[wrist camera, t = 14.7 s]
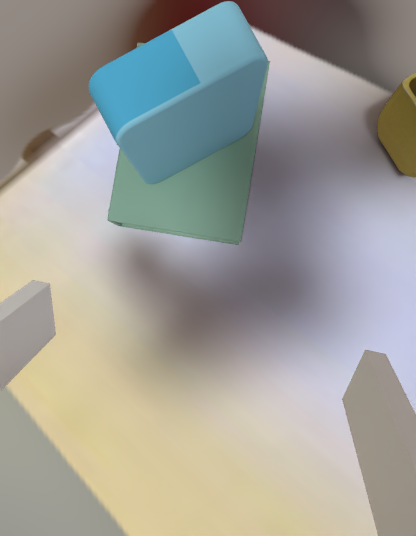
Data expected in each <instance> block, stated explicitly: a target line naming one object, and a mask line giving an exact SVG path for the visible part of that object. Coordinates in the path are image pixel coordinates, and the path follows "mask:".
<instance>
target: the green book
mask: <svg viewBox="0 0 416 536" xmlns="http://www.w3.org/2000/svg"><path fill="white" fill-rule="evenodd" d="M142 45H143V43H138V44H137V48H138V47H140V46H142ZM269 63H270V61H268V65H267V69H266V73H265V77H264V81H263V85H262V89H261V93H260V97H259V101H258V105H257V110H256V114H255V118H254V122H253V126H252V128H251V130H250V131H249V132H248V133H247V134H246V135H245V136H243V137H242V138H241V139H239V140H237V141H235V142H234V143H232V144H230V145H228V146H226V147H224V148H222V149H221V150H219V151H217V152H215V153H213V154H211V155H209V156H207V157H206V158H204V159H202V160H200V161H198V162H196V163H194V164H193V165H191V166H189V167H187V168H185V169H183V170H181V171H179V172H178V173H176V174H174V175H172V176H170V177H168V178H166V179H165V180H163V181H161V182H158V183H155V184H148V183H146V182H145V181H144V180H143V179H142V177H141V176H140V175H139V173H138V172H137V170H136V169H135V168H134V166H133V165H132V164H131V162H130V161H129V160H128V158H127V157H126V156H125V154H124V153H123V152H122V150H121V149H119V155H118V161H117V167H116V173H115V179H114V184H113V190H112V196H111V202H110V208H109V214H108V221H110V222H112V223H114V224H116V225H118V226H122V227H129V228H135V229H141V230H147V231H154V232H160V233H166V234H173V235H179V236H185V237H192V238H198V239H204V240H210V241H217V242H223V243H229V244H236V245H239V242H241V238H242V232H243V226H244V219H245V213H246V207H247V201H248V194H249V188H250V182H251V176H252V169H253V163H254V157H255V151H256V144H257V138H258V132H259V126H260V119H261V113H262V107H263V101H264V94H265V88H266V82H267V76H268V69H269Z"/></svg>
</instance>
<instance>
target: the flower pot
mask: <svg viewBox="0 0 416 536" xmlns="http://www.w3.org/2000/svg"><path fill="white" fill-rule="evenodd" d="M377 132H378V137H379V139H380V141H381V143H382V144H383V146H384V147H385V149H386V150H387V152H388V153H389V155H390V156H391V158H392V160H393V161H394V163H395V165H396V166H397V168H398V169H399V171H401V172H402V173H403V174H405V175H407V176H411V177H416V72H415V73H413V74H412V75H410V76H409V77H407V78H406V79H404V80H403V81H402V83H401V84H400V86H399V87H398V88H397V90H396V91H395V92H394V94H393V95H392V97H391V98H390V99H389V101H388V102H387V104H386V105H385V106H384V108H383V109H382V111H381V113H380V115H379V118H378V122H377Z"/></svg>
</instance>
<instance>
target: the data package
mask: <svg viewBox="0 0 416 536" xmlns="http://www.w3.org/2000/svg"><path fill="white" fill-rule="evenodd" d="M267 65H268V59H267V57H266V55H265V53H264V51H263V49H262V48H261V46H260V44H259V42H258V40H257V39H256V37H255V35H254V33H253V31H252V30H251V28H250V26H249V24H248V22H247V21H246V19H245V17H244V15H243V13H242V12H241V10H240V8H239V6H238V5H237V4H236V3H234V2H231V1H226V2H222V3H220V4H218V5H216V6H214V7H212V8H210V9H208V10H206V11H205V12H203V13H201V14H199V15H197V16H195V17H194V18H192V19H190V20H188V21H186V22H184V23H182V24H181V25H179V26H177V27H175V28H173V29H171V30H170V31H168V32H166V33H164V34H162V35H160V36H158V37H156V38H155V39H153V40H151V41H149V42H147V43H145V44H143V45H142V46H140V47H138V48H136V49H134V50H132V51H131V52H129V53H127V54H125V55H123V56H121V57H120V58H118V59H116V60H114V61H112V62H110V63H108V64H106V65H105V66H103V67H101V68H100V69H98V70H97V71H96V72H95V73H94V74H93V76H92V78H91V79H90V82H89V92H90V94H91V96H92V98H93V100H94V102H95V104H96V106H97V107H98V109H99V111H100V113H101V115H102V117H103V119H104V121H105V123H106V124H107V126H108V128H109V130H110V132H111V134H112V136H113V138H114V140H115V141H116V143H117V145H118V146H119V147H120V149H121V150H122V152H123V153H124V154H125V156H126V157H127V158H128V160H129V161H130V162H131V164H132V165H133V166H134V168H135V169H136V170H137V172H138V173H139V175H140V176H141V177H142V179H143V180H144V181H145V182H146V183H148V184H155V183H158V182H161V181H163V180H165V179H166V178H168V177H170V176H172V175H174V174H176V173H178V172H179V171H181V170H183V169H185V168H187V167H189V166H191V165H193V164H194V163H196V162H198V161H200V160H202V159H204V158H206V157H207V156H209V155H211V154H213V153H215V152H217V151H219V150H221V149H222V148H224V147H226V146H228V145H230V144H232V143H234V142H235V141H237V140H239V139H241V138H242V137H243V136H245V135H246V134H247V133H248V132H249V131H250V130H251V128H252V126H253V122H254V118H255V114H256V110H257V105H258V101H259V97H260V93H261V89H262V85H263V81H264V77H265V73H266V69H267Z"/></svg>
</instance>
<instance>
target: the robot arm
mask: <svg viewBox="0 0 416 536" xmlns="http://www.w3.org/2000/svg"><path fill="white" fill-rule="evenodd" d="M55 335H56V332H55V323H54V315H53V306H52V298H51V290H50V284H49V283H44V282H40V281H35V280H33V281H31V282H30V283H28V284H27V285H26V286H24V287H23V288H21V289H20V290H18V291H17V292H16V293H14V294H13V295H11V296H10V297H8V298H7V299H5V300H4V301H3V302H1V303H0V391H1V390H2V389H3V388H4V387H5V386H6V385H7V384H8V383H9V382H10V381H11V380H12V379H13V378H14V377H15V376H16V375H17V374H18V373H19V372H20V371H21V370H22V369H23V368H24V367H25V366H26V365H27V364H28V363H29V362H30V361H31V359H32V358H33V357H34V356H35V355H36V354H37V353H38V352H39V351H40V350H41V349H42V348H43V347H44V346H45V345H46V344H47V343H48V342H49V341H50V340H51V339H52V338H53V337H54V336H55ZM342 400H343V404H344V408H345V412H346V415H347V419H348V423H349V427H350V431H351V434H352V438H353V442H354V446H355V449H356V453H357V457H358V461H359V465H360V468H361V472H362V476H363V480H364V484H365V487H366V491H367V495H368V499H369V502H370V506H371V510H372V514H373V518H374V521H375V525H376V529H377V533H378V536H416V414H415V412H414V410H413V408H412V406H411V404H410V402H409V400H408V398H407V396H406V394H405V392H404V390H403V388H402V386H401V384H400V382H399V380H398V378H397V376H396V374H395V372H394V370H393V368H392V366H391V364H390V362H389V360H388V358H387V356H386V354H383V353H378V352H373V351H369V350H365V351H364V353H363V356H362V358H361V360H360V362H359V364H358V366H357V368H356V371H355V373H354V375H353V377H352V379H351V381H350V383H349V386H348V388H347V390H346V392H345V394H344V396H343V398H342Z"/></svg>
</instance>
